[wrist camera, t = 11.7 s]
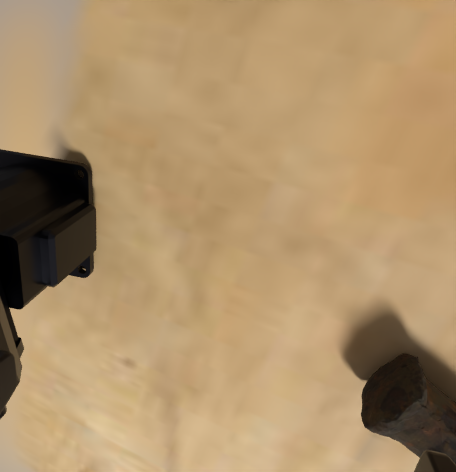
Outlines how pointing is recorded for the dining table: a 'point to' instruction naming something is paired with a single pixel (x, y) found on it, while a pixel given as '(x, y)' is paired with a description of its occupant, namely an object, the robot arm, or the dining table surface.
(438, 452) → the robot arm
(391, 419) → the hand tool
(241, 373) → the dining table surface
